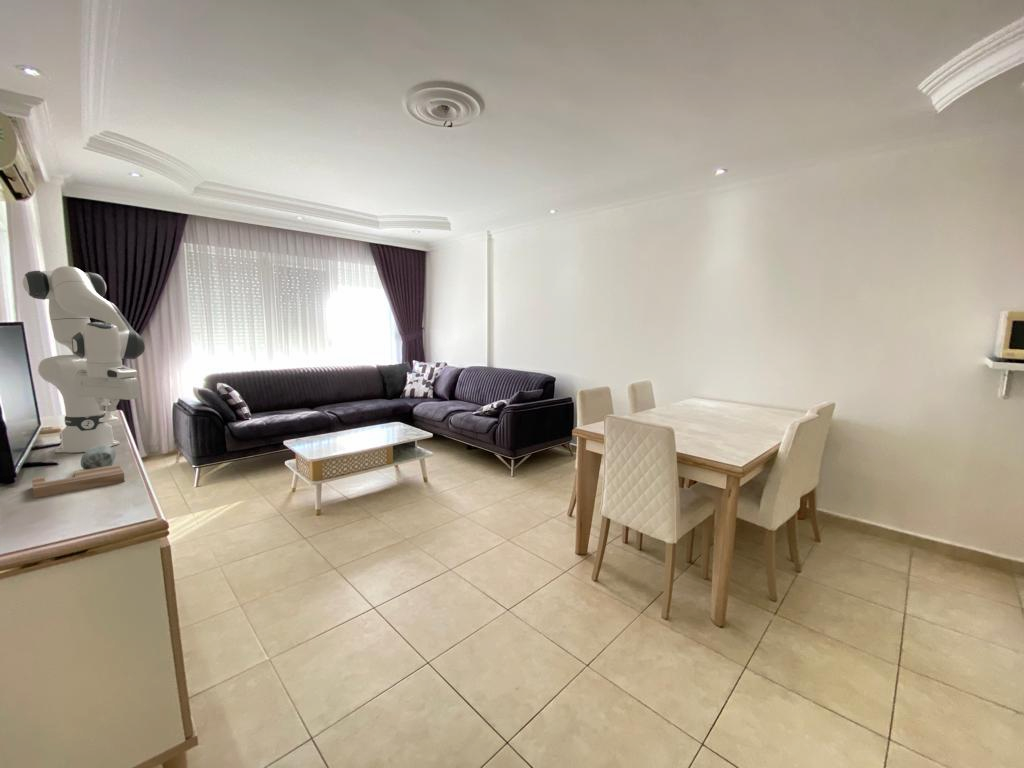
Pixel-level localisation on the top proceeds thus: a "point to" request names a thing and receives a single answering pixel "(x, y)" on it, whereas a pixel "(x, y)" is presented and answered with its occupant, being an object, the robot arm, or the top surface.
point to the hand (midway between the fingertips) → (108, 410)
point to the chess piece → (108, 413)
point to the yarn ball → (98, 457)
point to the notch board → (78, 481)
